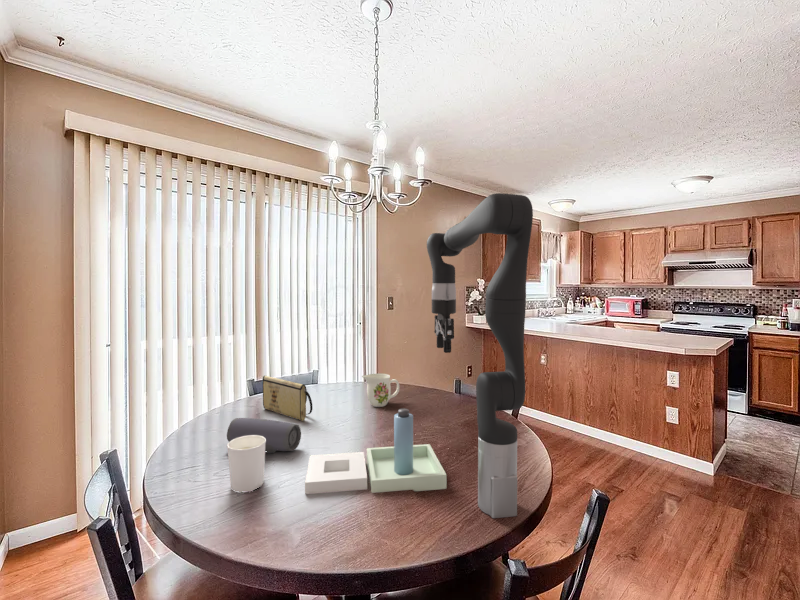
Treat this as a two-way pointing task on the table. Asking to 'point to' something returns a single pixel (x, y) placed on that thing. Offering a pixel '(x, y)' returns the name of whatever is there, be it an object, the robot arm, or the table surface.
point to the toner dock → (336, 473)
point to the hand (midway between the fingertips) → (443, 350)
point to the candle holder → (246, 462)
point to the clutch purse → (285, 397)
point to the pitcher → (380, 389)
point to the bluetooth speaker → (267, 432)
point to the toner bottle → (403, 442)
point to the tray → (422, 478)
